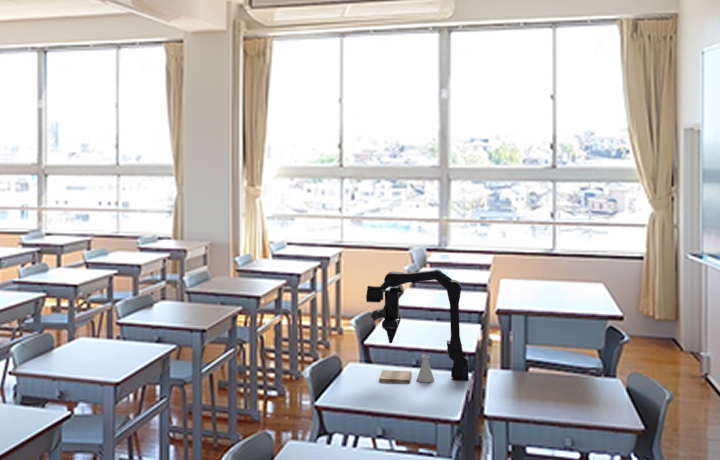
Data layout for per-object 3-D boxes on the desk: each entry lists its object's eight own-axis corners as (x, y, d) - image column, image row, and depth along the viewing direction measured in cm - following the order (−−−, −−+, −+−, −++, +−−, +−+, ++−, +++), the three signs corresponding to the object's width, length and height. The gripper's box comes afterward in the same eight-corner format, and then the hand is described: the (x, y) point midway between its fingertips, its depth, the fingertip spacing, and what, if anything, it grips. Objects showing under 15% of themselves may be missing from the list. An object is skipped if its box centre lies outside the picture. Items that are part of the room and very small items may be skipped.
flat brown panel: (411, 376, 268) (411, 371, 268) (409, 384, 256) (409, 379, 256) (382, 374, 270) (382, 370, 270) (379, 383, 258) (379, 378, 258)
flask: (413, 381, 259) (413, 357, 258) (420, 376, 265) (420, 352, 265) (430, 384, 255) (430, 359, 255) (437, 379, 262) (437, 355, 261)
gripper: (374, 298, 275) (374, 334, 277) (369, 306, 257) (369, 345, 258) (401, 299, 274) (400, 335, 275) (397, 307, 255) (397, 346, 257)
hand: (391, 340), depth 266 cm, fingers open, 9 cm apart
